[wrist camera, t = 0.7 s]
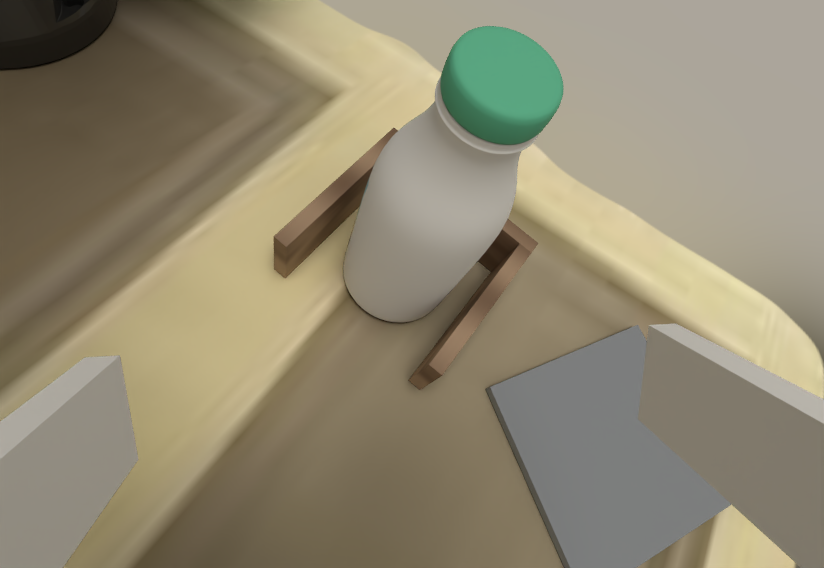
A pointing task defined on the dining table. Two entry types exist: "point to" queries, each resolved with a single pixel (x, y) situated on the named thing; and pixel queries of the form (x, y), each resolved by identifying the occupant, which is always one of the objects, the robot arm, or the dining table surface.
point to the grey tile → (600, 457)
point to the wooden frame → (345, 199)
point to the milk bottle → (450, 175)
